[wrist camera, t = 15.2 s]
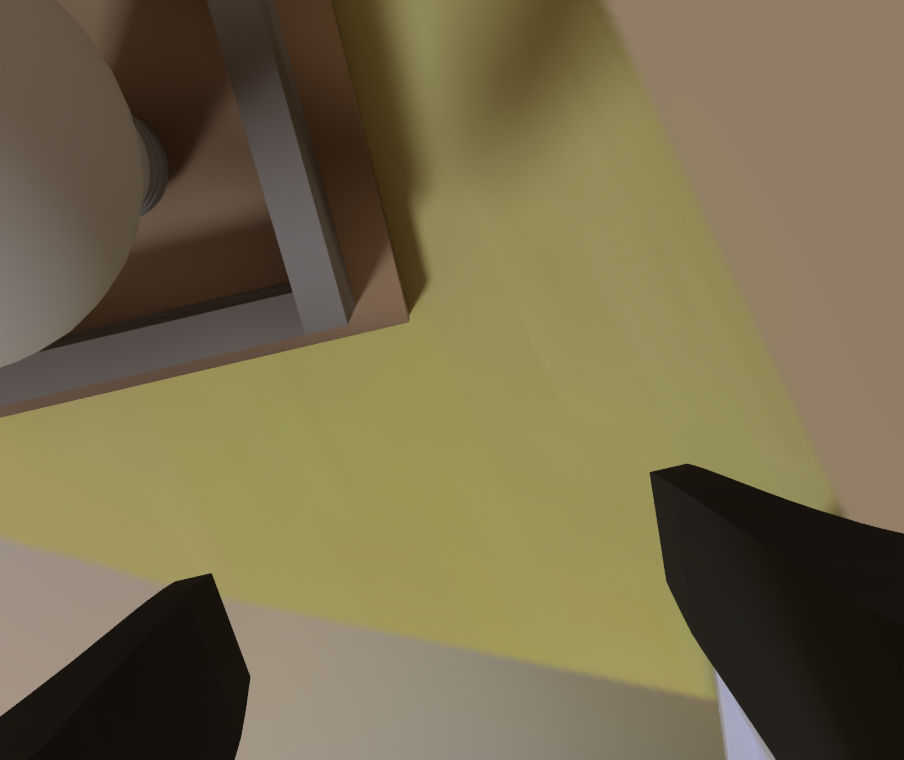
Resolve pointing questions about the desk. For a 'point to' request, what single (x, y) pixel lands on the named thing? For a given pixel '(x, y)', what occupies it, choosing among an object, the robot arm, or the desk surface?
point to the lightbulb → (64, 176)
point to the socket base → (229, 200)
